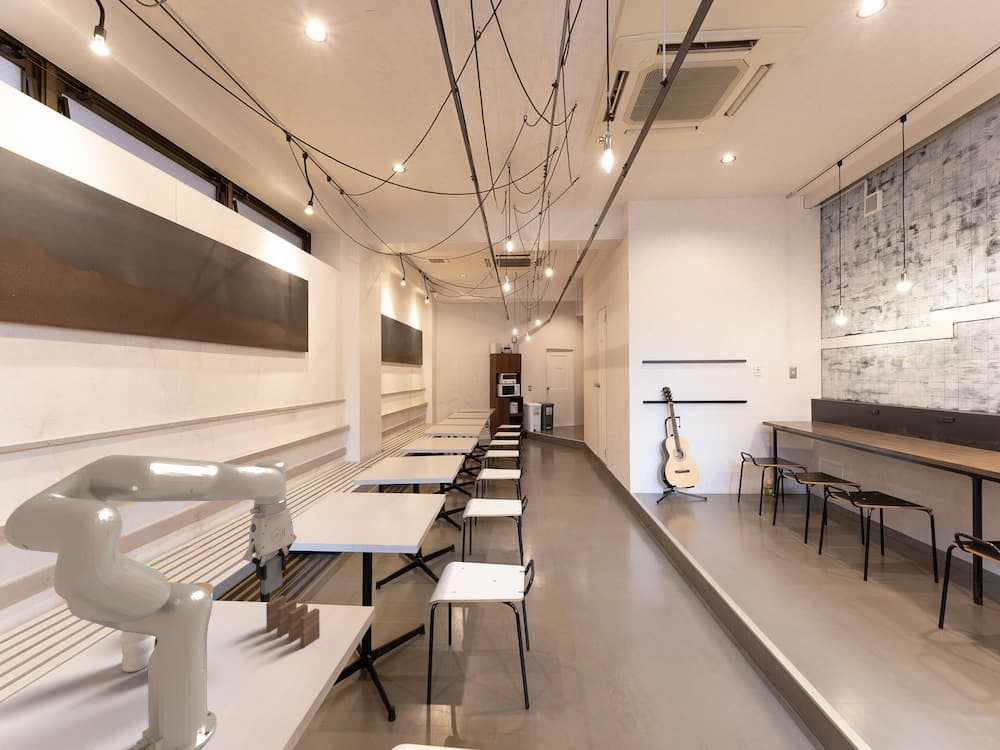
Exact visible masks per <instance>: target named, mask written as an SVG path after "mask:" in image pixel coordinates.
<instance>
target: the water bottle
mask: <svg viewBox="0 0 1000 750" xmlns="http://www.w3.org/2000/svg"><path fill="white" fill-rule="evenodd" d="M145 565H146V566H149V567H151V568H152V566H151V565H150V564H145ZM121 636H122V644H121V653H122V657H121V659H122V660H121V669H122V671H123V672H128V673H132V672H137V671H140V670H143V669H145V668H148V662H149V658H150V656H151V654H152V652H153V650H154V641H155V638H156V637H155V636H149V635H145V634H138V633H130V632H124V631H121Z"/></svg>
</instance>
